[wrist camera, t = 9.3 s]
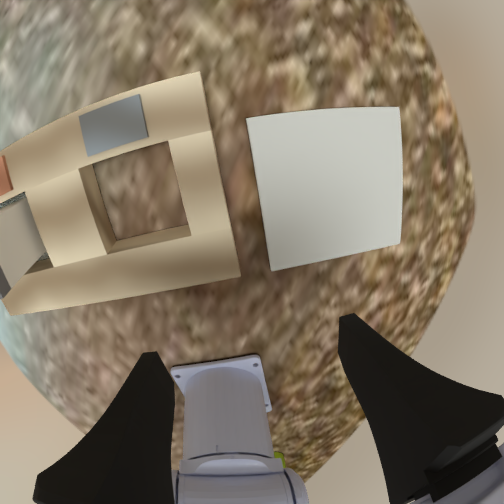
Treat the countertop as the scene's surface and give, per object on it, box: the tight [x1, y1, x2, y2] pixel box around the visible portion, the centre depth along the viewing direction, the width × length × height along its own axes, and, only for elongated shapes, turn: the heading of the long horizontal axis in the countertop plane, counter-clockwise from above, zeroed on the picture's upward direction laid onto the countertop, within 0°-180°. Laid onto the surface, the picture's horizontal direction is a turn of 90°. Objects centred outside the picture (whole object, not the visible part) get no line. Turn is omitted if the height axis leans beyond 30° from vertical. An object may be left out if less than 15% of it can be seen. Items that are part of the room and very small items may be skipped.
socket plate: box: [0, 72, 241, 316], centre depth 15 cm, size 12×20×2 cm, turn 99°
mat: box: [246, 107, 403, 271], centre depth 18 cm, size 10×10×1 cm
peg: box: [0, 197, 47, 299], centre depth 13 cm, size 4×4×7 cm
